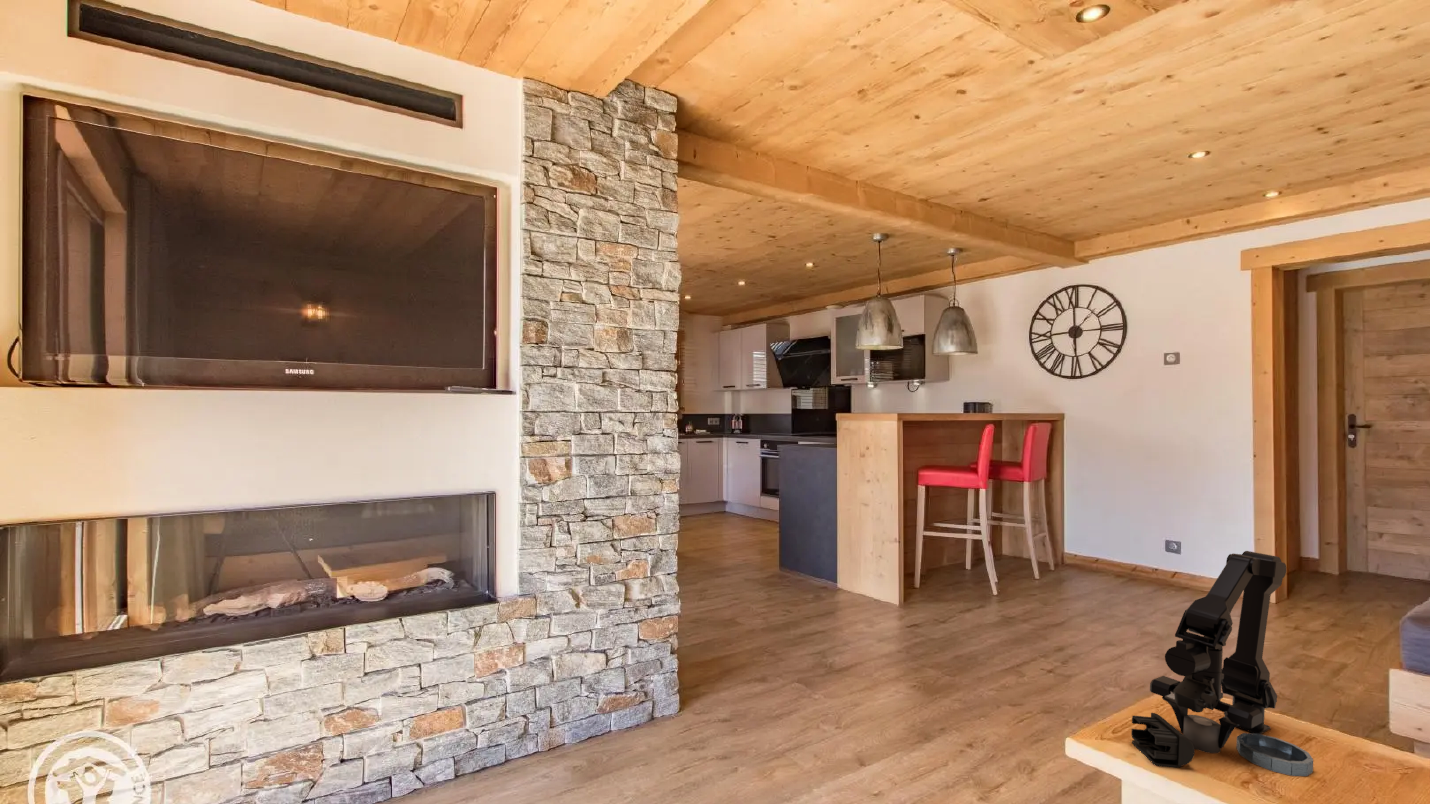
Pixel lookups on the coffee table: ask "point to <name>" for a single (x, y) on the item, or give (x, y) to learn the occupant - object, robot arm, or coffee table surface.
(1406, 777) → the coffee table surface
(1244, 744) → the blue-grey round tray
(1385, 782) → the coffee table surface
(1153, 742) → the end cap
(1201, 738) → the dark brown cylinder
